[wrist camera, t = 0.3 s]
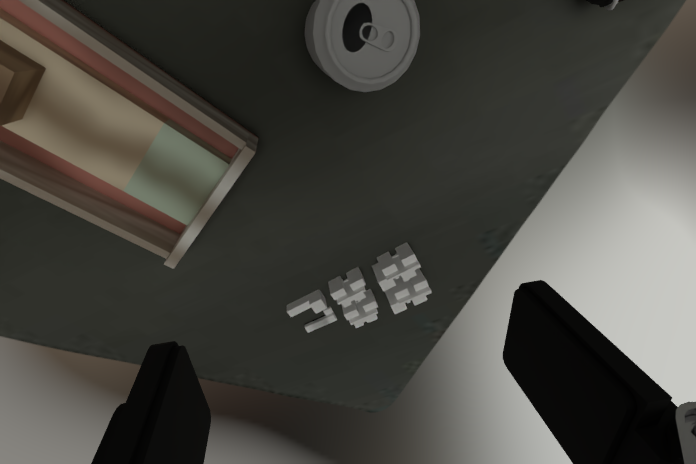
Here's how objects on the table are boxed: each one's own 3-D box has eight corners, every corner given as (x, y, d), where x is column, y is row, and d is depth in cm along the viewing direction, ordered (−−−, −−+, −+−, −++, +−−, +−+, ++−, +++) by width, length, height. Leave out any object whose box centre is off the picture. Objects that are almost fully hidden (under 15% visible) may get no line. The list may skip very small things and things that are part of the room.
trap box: (-38, -71, 26) (-107, -94, 22) (258, 137, 37) (255, 152, 32) (-96, 96, 30) (-166, 107, 26) (186, 241, 41) (173, 269, 36)
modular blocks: (406, 240, 46) (416, 257, 43) (423, 278, 49) (434, 296, 46) (270, 308, 48) (269, 329, 44) (296, 340, 51) (297, 362, 47)
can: (317, -29, 31) (336, -62, 21) (395, 5, 33) (448, -8, 23) (294, 62, 34) (301, 74, 24) (367, 88, 36) (402, 109, 26)
